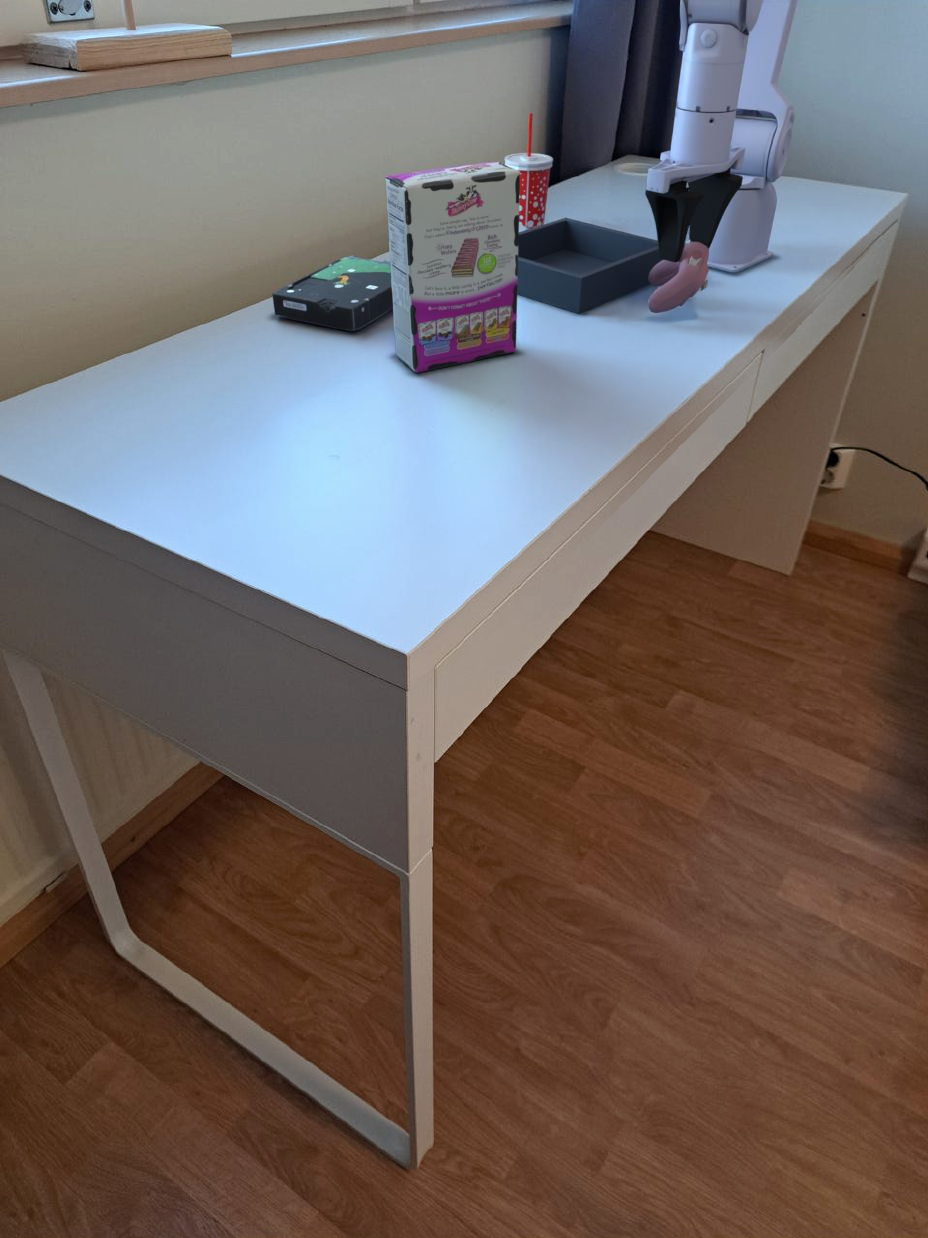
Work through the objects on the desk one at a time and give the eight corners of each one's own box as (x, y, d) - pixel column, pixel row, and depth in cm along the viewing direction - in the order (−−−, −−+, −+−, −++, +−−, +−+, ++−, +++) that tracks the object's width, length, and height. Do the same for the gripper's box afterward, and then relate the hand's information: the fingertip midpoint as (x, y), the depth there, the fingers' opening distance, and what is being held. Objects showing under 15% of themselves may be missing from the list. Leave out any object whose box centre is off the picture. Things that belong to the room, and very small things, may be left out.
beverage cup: (549, 226, 124) (556, 109, 115) (548, 239, 119) (555, 118, 110) (504, 224, 124) (507, 108, 115) (501, 238, 119) (504, 117, 111)
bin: (563, 249, 116) (565, 217, 113) (667, 277, 107) (671, 243, 105) (473, 280, 106) (473, 246, 104) (579, 313, 98) (582, 277, 96)
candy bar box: (492, 336, 93) (496, 158, 83) (517, 353, 89) (524, 170, 79) (391, 356, 89) (382, 172, 79) (413, 374, 85) (406, 185, 75)
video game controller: (680, 330, 95) (721, 271, 91) (643, 309, 95) (682, 247, 90) (678, 298, 103) (716, 241, 99) (644, 278, 102) (680, 220, 98)
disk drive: (357, 336, 93) (426, 289, 104) (355, 309, 91) (425, 264, 102) (273, 319, 97) (348, 276, 107) (269, 292, 95) (346, 251, 105)
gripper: (710, 93, 94) (690, 231, 103) (627, 111, 86) (612, 260, 94) (772, 101, 90) (746, 244, 99) (691, 122, 82) (670, 276, 91)
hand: (684, 253), depth 96 cm, fingers closed on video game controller, 5 cm apart
